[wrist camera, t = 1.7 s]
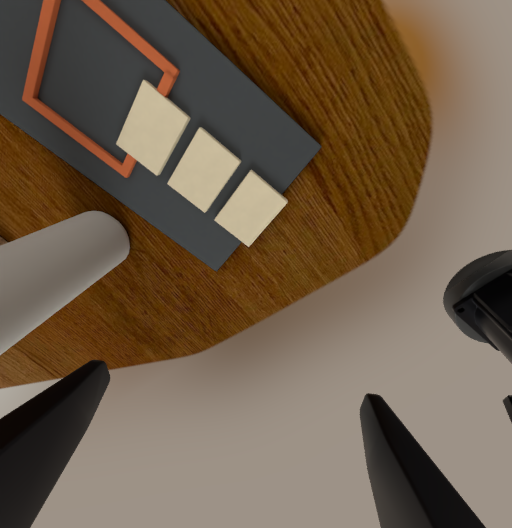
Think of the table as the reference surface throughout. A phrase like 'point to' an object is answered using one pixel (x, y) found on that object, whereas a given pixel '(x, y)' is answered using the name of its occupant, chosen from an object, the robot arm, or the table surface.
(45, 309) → the beverage can
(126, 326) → the table surface
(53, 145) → the word mat
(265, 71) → the table surface
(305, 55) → the table surface
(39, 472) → the robot arm
